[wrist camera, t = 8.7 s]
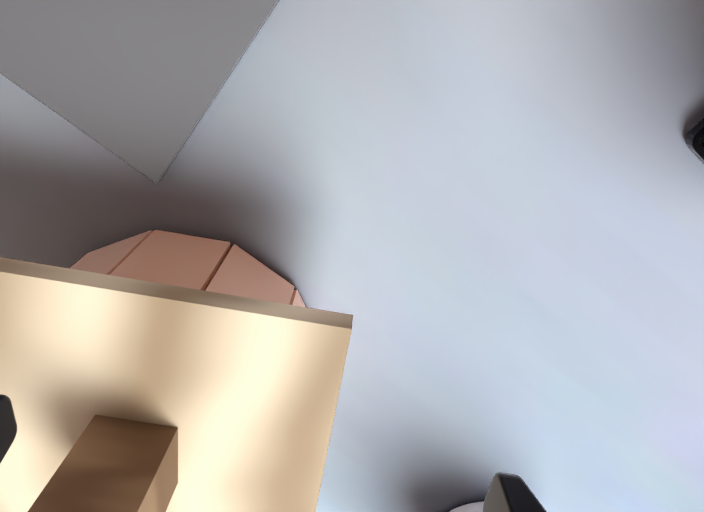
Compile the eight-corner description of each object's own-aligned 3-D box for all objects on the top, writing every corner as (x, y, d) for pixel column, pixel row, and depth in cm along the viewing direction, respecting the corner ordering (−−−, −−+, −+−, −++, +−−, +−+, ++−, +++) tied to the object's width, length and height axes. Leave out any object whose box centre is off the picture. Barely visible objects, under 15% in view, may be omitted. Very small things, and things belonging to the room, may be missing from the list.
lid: (352, 315, 16) (343, 424, 12) (303, 566, 23) (285, 696, 18) (-76, 244, 16) (-245, 332, 12) (-4, 520, 22) (-96, 643, 18)
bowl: (375, 337, 23) (374, 425, 18) (231, 472, 28) (200, 571, 23) (141, 171, 20) (65, 223, 15) (24, 355, 25) (-63, 441, 20)
